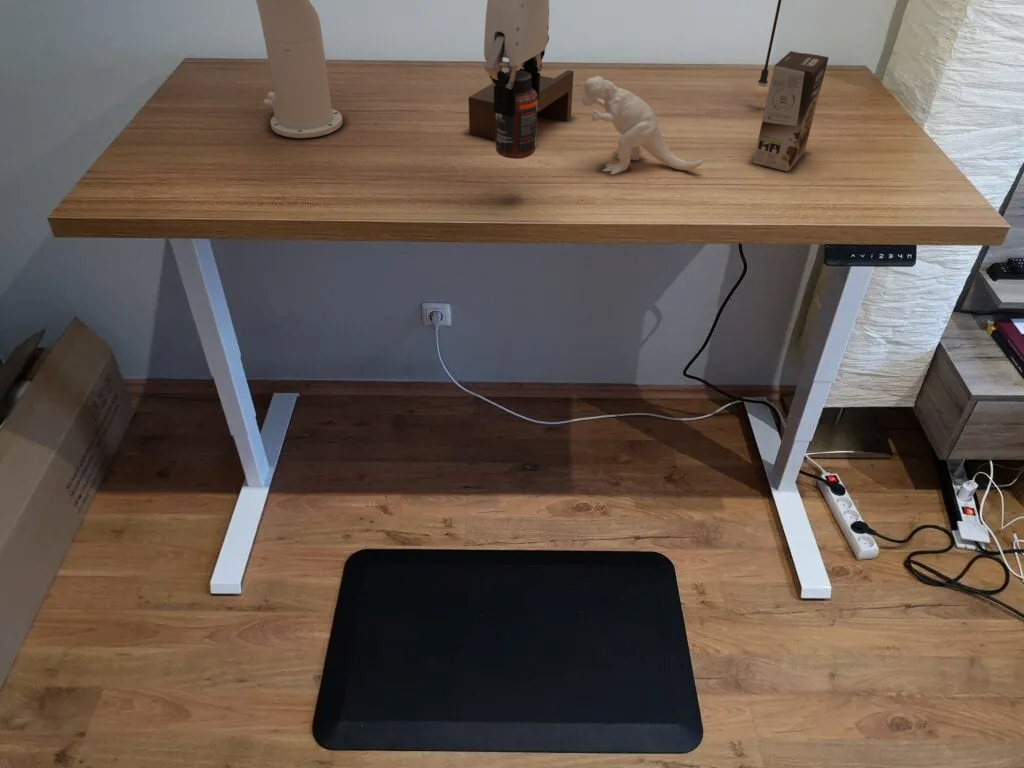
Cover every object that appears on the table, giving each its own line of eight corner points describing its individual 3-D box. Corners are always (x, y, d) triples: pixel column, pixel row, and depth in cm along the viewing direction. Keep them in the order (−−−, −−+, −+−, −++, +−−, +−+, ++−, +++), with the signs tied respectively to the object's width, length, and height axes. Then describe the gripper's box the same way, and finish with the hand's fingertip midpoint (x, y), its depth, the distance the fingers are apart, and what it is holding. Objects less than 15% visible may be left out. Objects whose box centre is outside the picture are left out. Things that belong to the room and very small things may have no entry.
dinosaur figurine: (575, 172, 131) (581, 80, 121) (583, 148, 138) (589, 60, 129) (700, 184, 128) (716, 91, 118) (701, 159, 135) (716, 69, 126)
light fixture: (732, 107, 153) (759, -38, 137) (755, 99, 156) (784, -43, 140) (759, 118, 149) (790, -30, 133) (782, 110, 152) (816, -35, 136)
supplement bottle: (541, 148, 120) (545, 71, 113) (525, 164, 116) (528, 85, 108) (505, 140, 122) (507, 64, 114) (488, 155, 118) (489, 77, 110)
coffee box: (789, 172, 131) (814, 72, 121) (751, 163, 134) (772, 64, 124) (805, 153, 137) (830, 56, 127) (769, 144, 140) (790, 48, 130)
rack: (469, 134, 142) (468, 85, 137) (515, 105, 153) (515, 59, 147) (528, 148, 138) (529, 99, 132) (571, 118, 148) (573, 70, 143)
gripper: (529, -50, 110) (524, 82, 121) (459, -23, 98) (461, 120, 110) (577, -41, 107) (568, 93, 119) (511, -12, 95) (508, 133, 107)
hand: (516, 105), depth 114 cm, fingers closed on supplement bottle, 6 cm apart
